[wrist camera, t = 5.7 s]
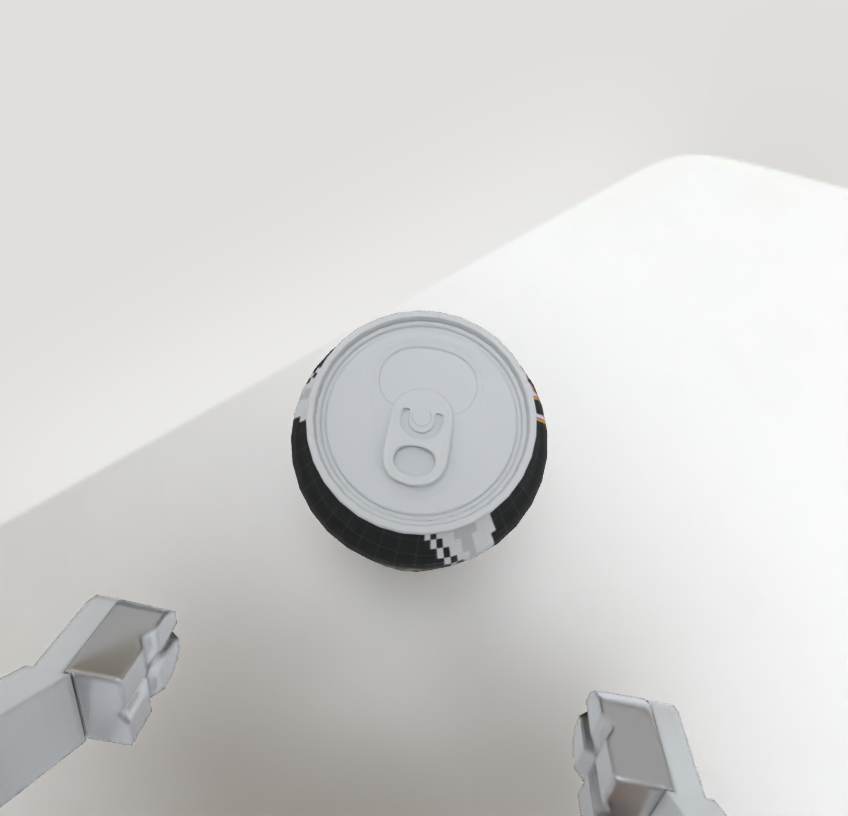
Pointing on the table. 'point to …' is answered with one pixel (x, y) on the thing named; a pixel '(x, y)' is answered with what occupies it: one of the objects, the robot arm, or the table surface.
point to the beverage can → (419, 441)
